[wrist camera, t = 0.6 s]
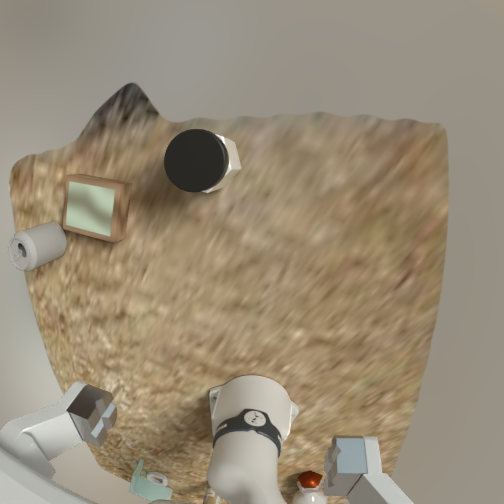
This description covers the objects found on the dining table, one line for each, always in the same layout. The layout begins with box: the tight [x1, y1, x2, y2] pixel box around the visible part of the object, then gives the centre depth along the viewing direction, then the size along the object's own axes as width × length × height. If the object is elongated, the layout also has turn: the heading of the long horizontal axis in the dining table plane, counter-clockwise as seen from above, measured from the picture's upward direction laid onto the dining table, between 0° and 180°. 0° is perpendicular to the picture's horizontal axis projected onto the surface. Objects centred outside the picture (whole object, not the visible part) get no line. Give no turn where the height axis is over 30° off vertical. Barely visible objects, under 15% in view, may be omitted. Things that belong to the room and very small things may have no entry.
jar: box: [164, 129, 241, 193], centre depth 44 cm, size 9×8×12 cm
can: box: [9, 222, 67, 271], centre depth 51 cm, size 8×8×12 cm
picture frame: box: [63, 174, 132, 243], centre depth 52 cm, size 10×12×4 cm
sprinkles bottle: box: [203, 483, 221, 504], centre depth 65 cm, size 5×5×14 cm
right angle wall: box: [129, 459, 173, 501], centre depth 71 cm, size 12×12×8 cm
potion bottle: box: [292, 471, 328, 504], centre depth 64 cm, size 9×10×15 cm
